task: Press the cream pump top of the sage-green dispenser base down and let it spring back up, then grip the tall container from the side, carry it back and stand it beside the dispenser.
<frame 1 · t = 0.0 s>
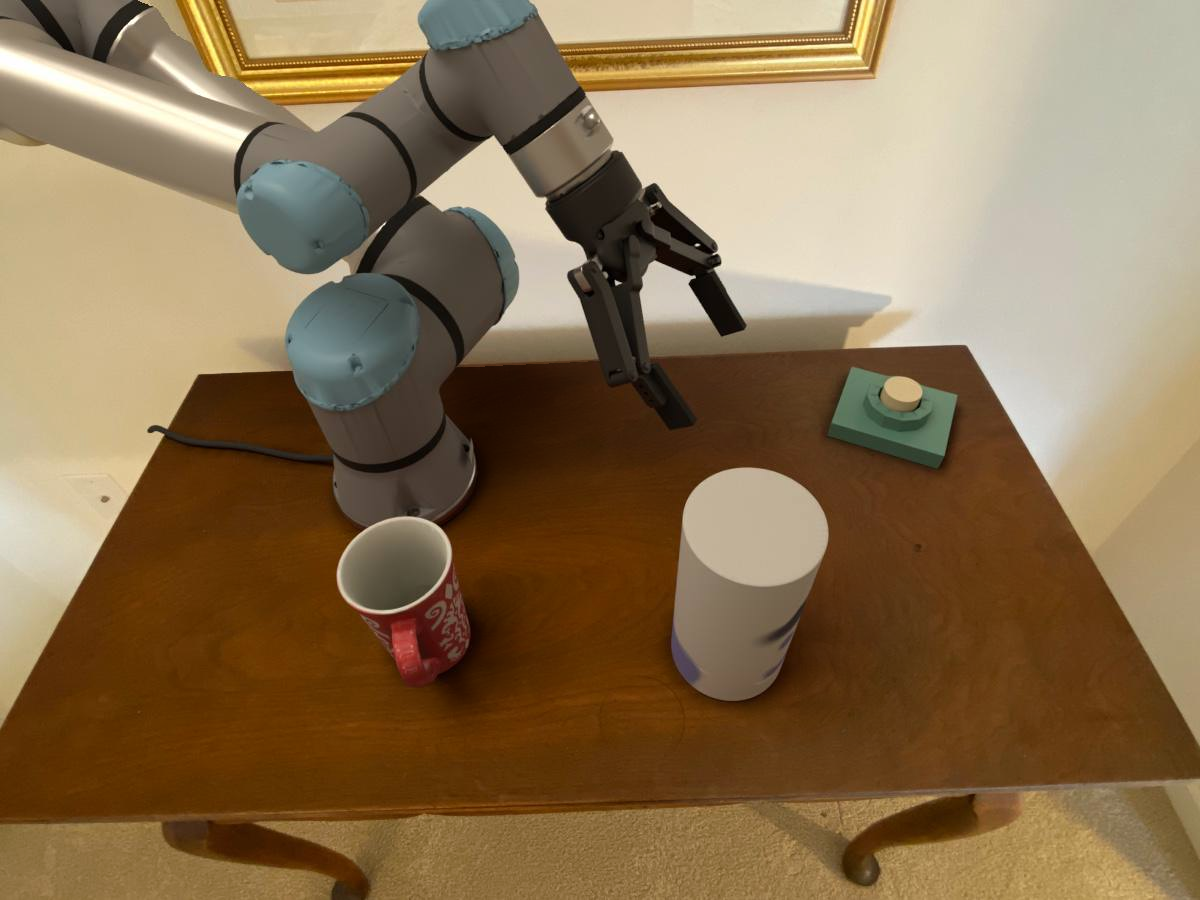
hand: (710, 375, 66), 15 cm above the table, tool tilted 35°, fingers open, 13 cm apart
pump top: (901, 394, 78), point 4 cm above the table, slide at 0.1 cm
container: (725, 648, 65), on the table
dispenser: (890, 421, 82), on the table
mug: (432, 657, 65), on the table
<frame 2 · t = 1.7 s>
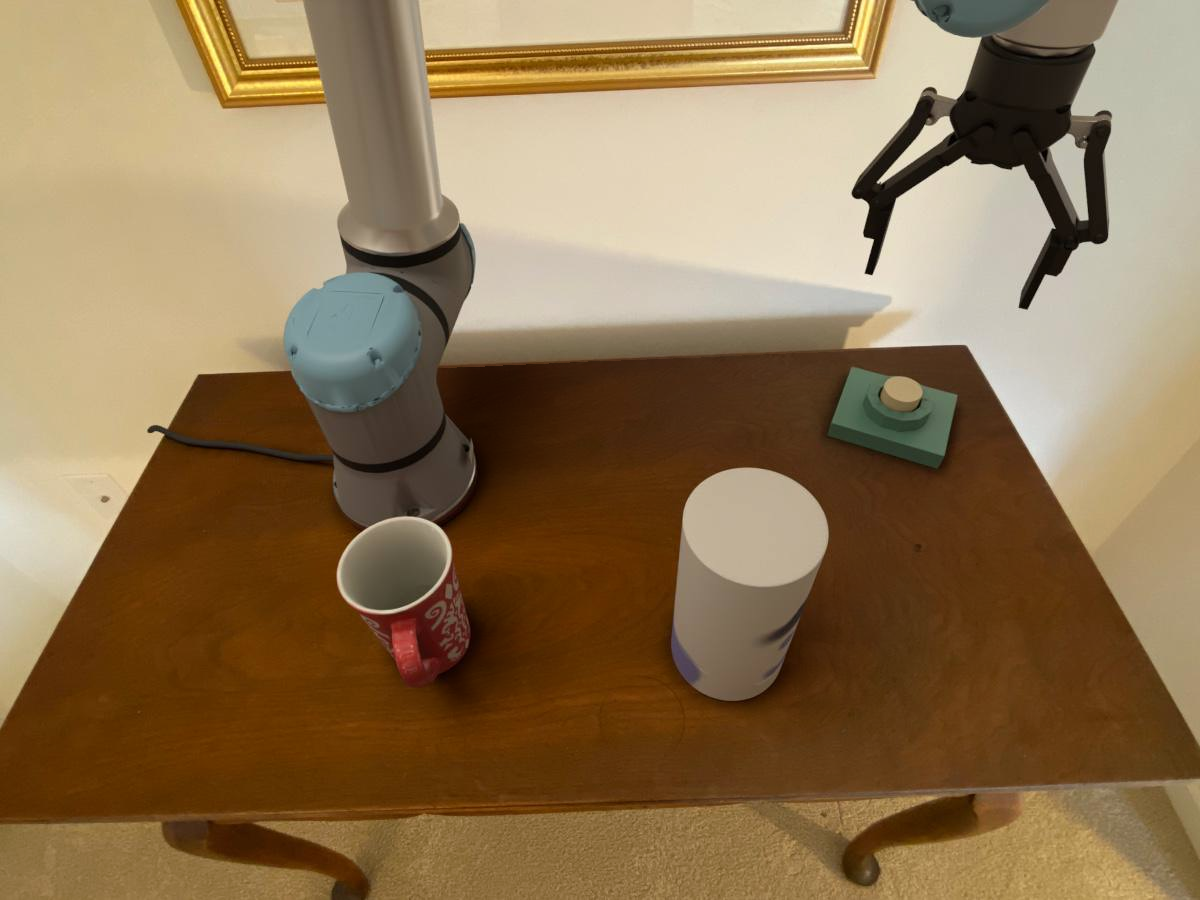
hand: (945, 283, 67), 19 cm above the table, tool pointing down, fingers open, 13 cm apart
nothing on the table moved.
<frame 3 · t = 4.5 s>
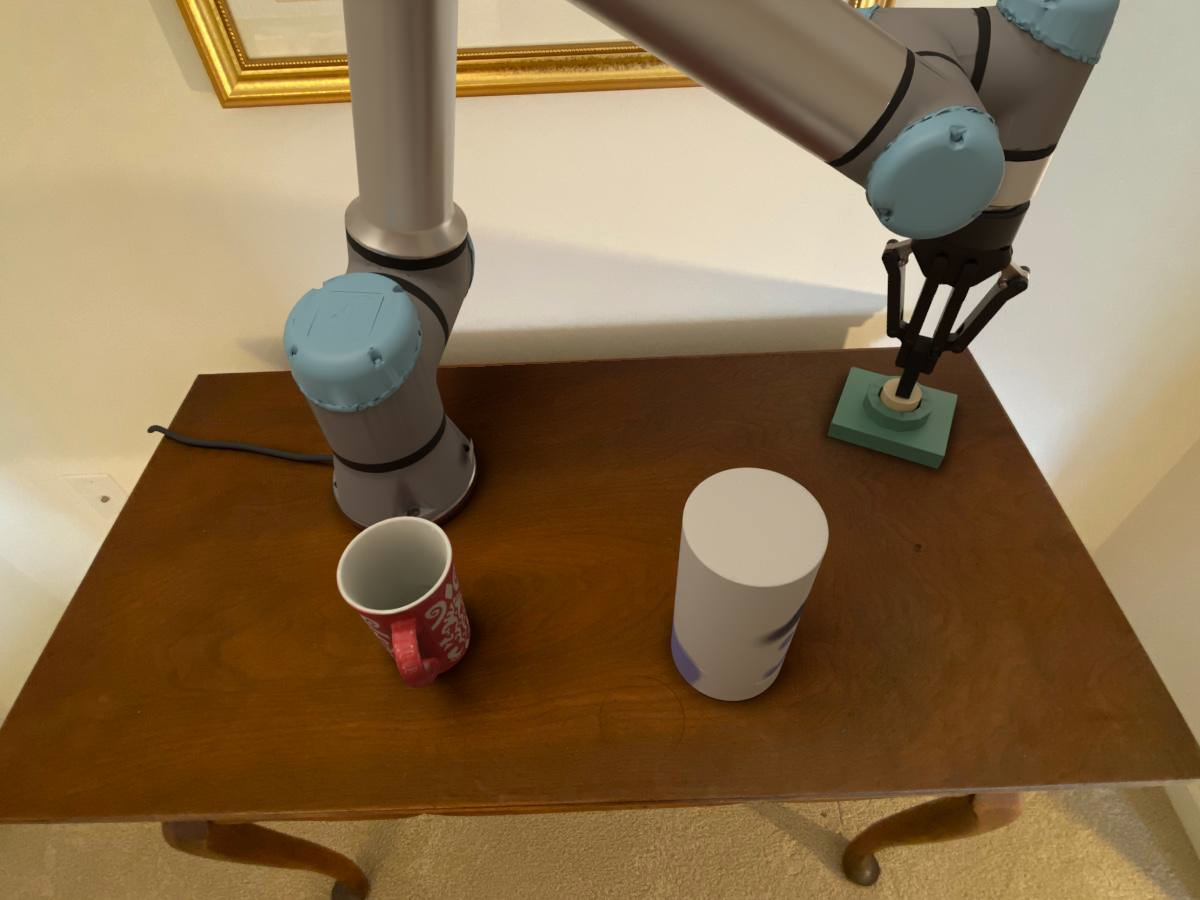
hand: (904, 389, 78), 5 cm above the table, tool pointing down, fingers closed
pump top: (900, 396, 79), point 4 cm above the table, slide at -0.2 cm, touching gripper
everything else where it was.
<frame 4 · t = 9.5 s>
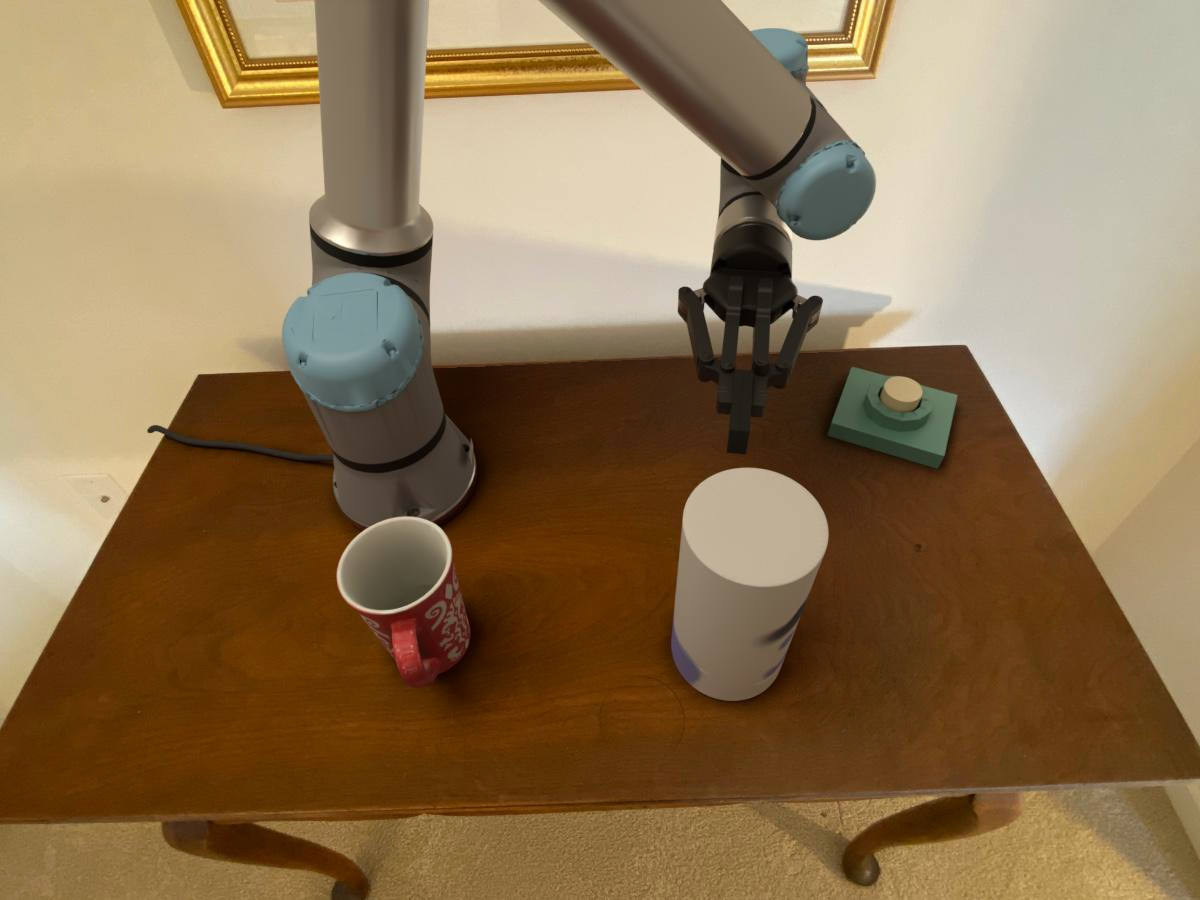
hand: (737, 442, 54), 20 cm above the table, tool horizontal, fingers closed
pump top: (901, 394, 78), point 4 cm above the table, slide at 0.1 cm
everything else where it was.
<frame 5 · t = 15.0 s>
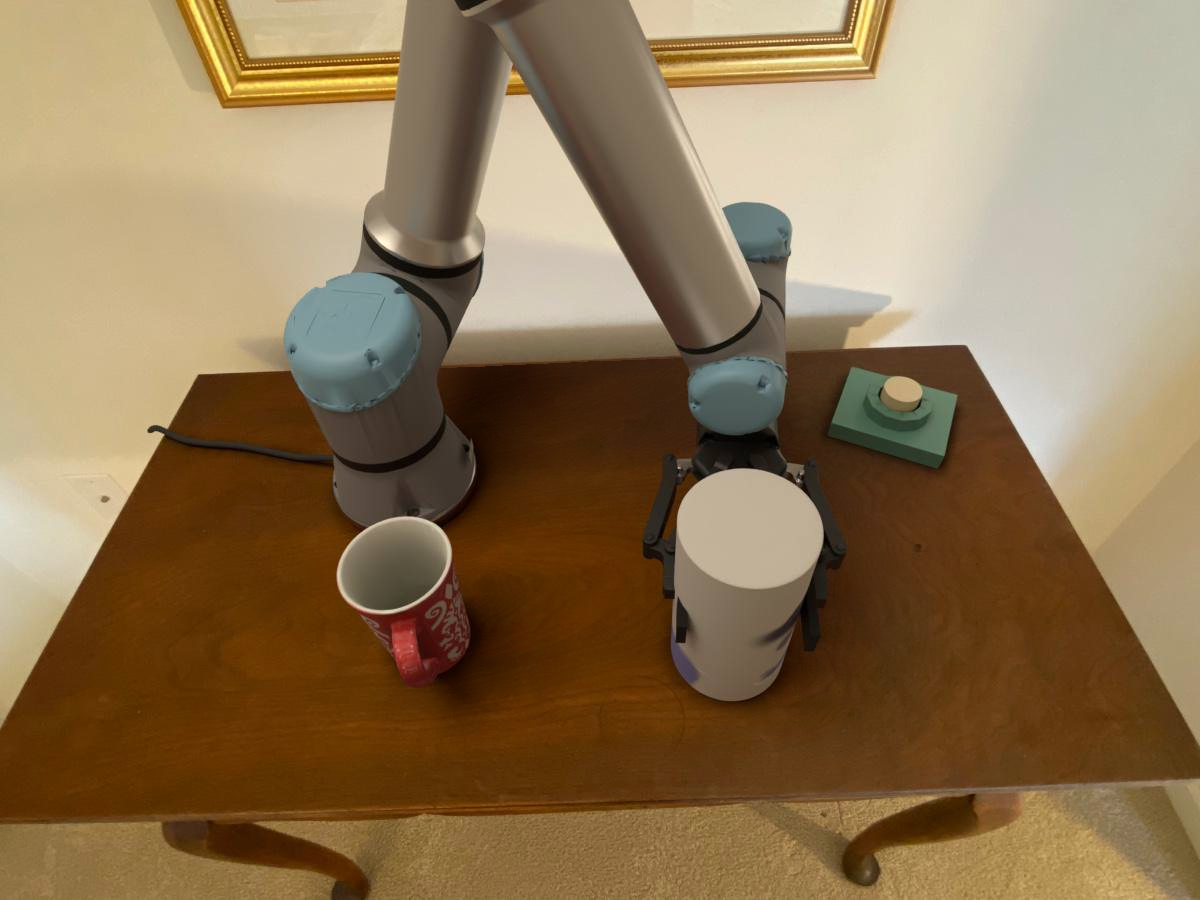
hand: (746, 639, 53), 11 cm above the table, tool horizontal, fingers open, 9 cm apart
container: (725, 648, 65), on the table, touching gripper
everything else where it was.
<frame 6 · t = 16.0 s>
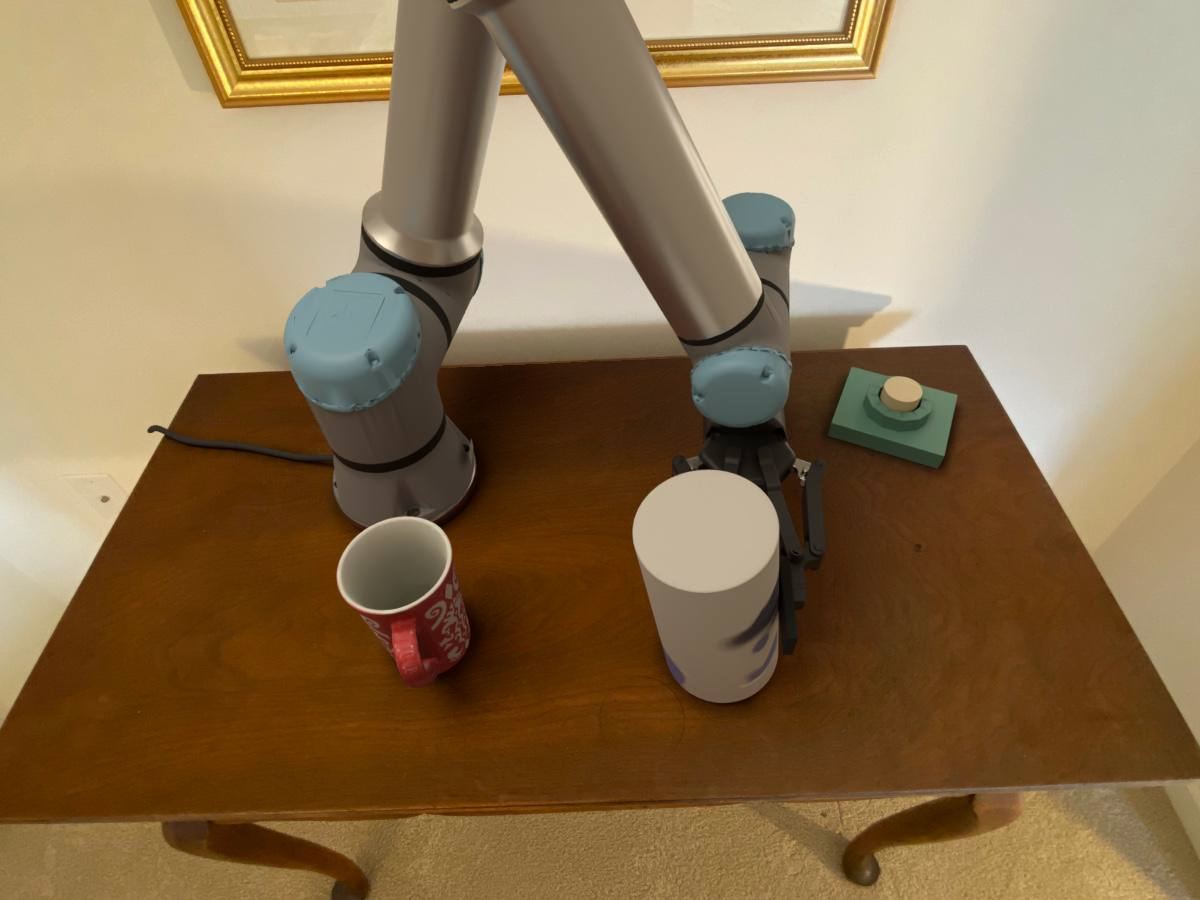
hand: (760, 644, 52), 12 cm above the table, tool horizontal, fingers closed on container, 4 cm apart
container: (720, 649, 64), point 1 cm above the table, touching gripper
everything else where it was.
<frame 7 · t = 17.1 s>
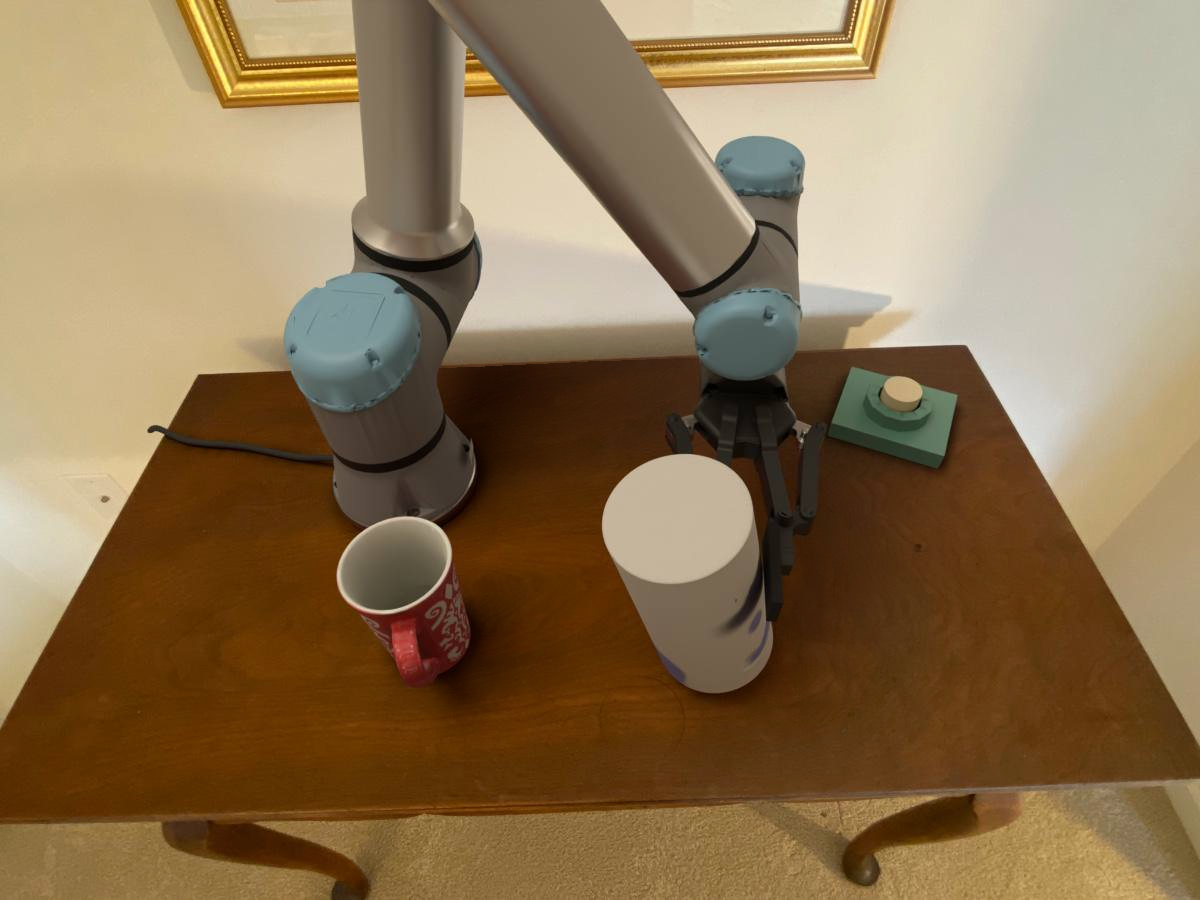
hand: (751, 610, 48), 17 cm above the table, tool horizontal, fingers closed on container, 2 cm apart
container: (714, 637, 62), point 3 cm above the table, touching gripper, hand
everything else where it was.
when the fingers open (14 cm above the table, at t = 22.6 s): container drops 1 cm, on the table.
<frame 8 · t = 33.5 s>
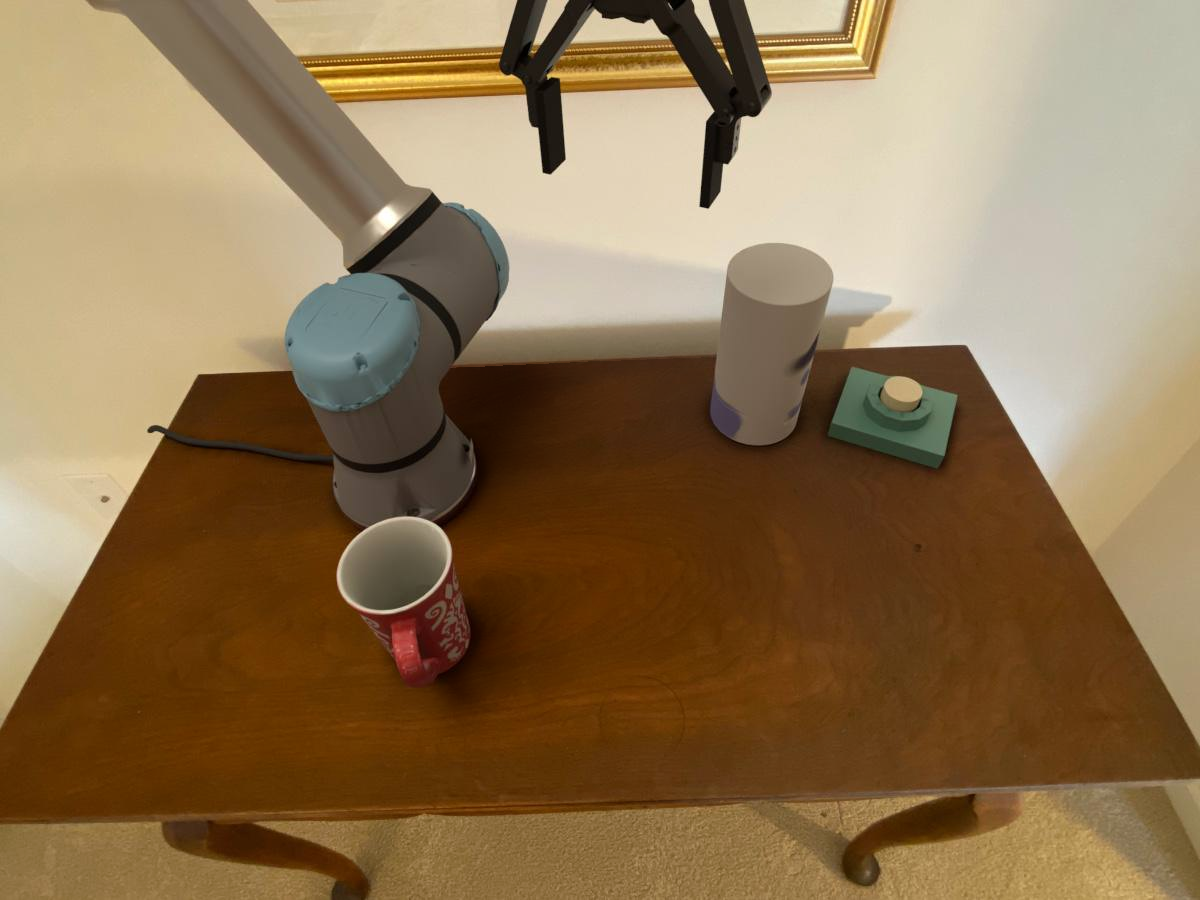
hand: (629, 182, 57), 32 cm above the table, tool pointing down, fingers open, 13 cm apart
container: (752, 415, 83), on the table
everything else where it was.
at the end: pump top pushed in 1.0 cm at the most during the clip, back to where it started at the end; pump top slide at 0.1 cm; container inside the target area on the table beside the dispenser (1.3 cm from its centre), on the table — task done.
